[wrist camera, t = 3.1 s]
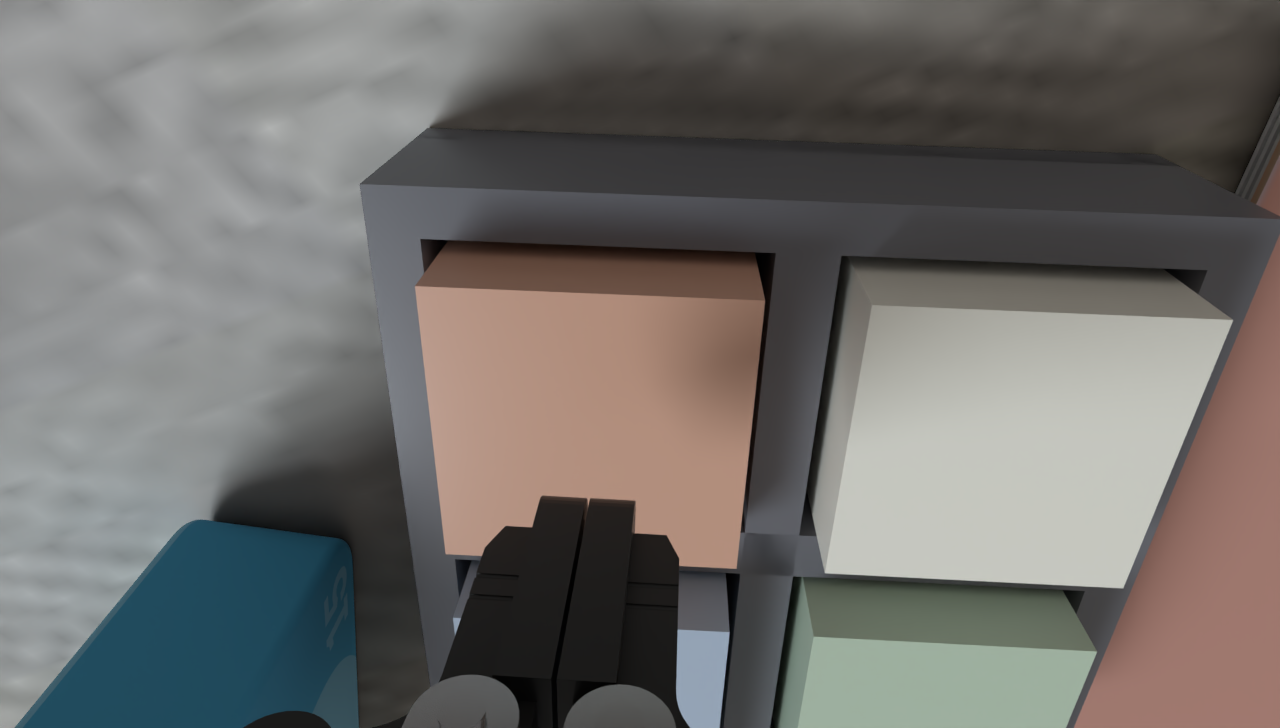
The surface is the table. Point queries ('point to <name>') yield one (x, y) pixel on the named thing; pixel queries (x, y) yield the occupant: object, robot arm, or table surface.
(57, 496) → the table surface
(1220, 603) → the notebook
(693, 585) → the dusty blue key
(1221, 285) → the keypad
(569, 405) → the terracotta key
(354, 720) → the data package
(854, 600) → the sage key
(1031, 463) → the cream key
